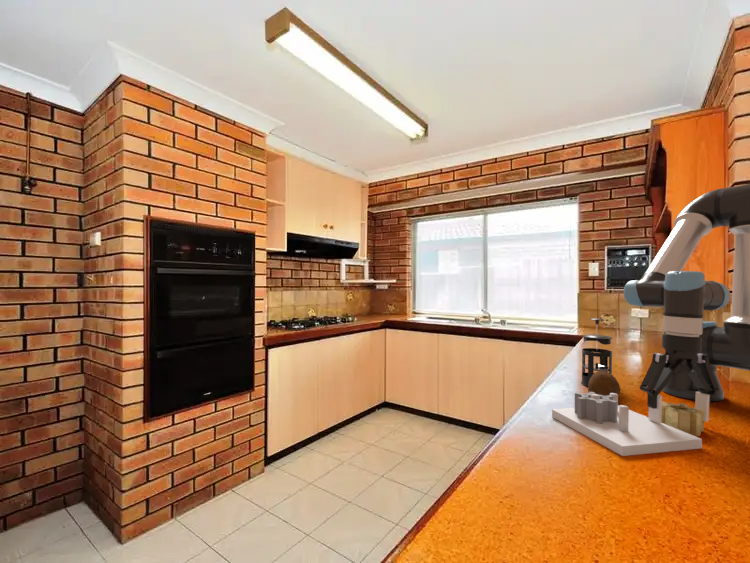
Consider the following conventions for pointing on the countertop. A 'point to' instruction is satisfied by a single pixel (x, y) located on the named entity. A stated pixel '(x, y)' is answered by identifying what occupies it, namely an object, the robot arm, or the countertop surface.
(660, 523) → the countertop surface
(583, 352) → the french press
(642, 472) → the countertop surface
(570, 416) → the gear board
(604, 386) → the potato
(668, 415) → the brass gear
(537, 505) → the countertop surface
